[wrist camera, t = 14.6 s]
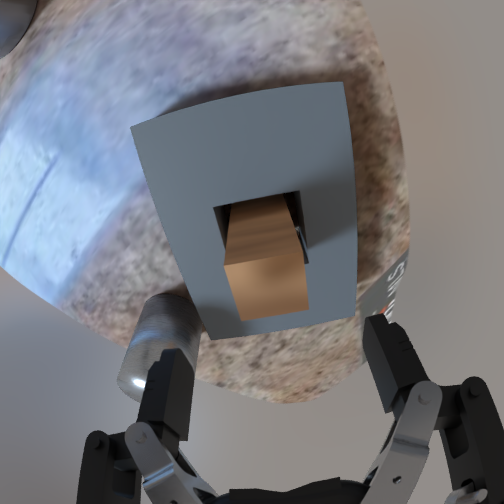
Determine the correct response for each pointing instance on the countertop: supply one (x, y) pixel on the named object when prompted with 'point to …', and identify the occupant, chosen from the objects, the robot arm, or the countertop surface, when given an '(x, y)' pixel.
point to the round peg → (159, 339)
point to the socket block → (257, 193)
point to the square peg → (265, 259)
